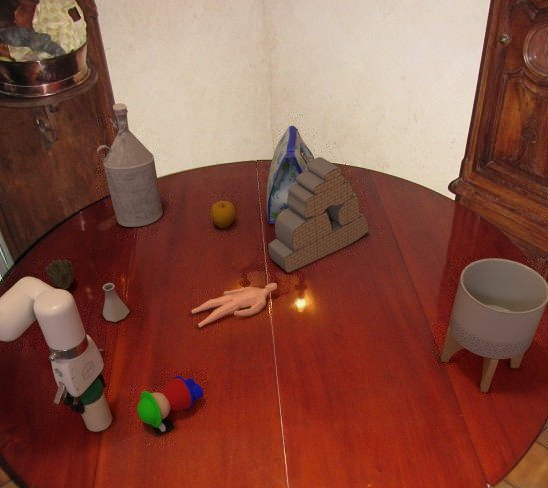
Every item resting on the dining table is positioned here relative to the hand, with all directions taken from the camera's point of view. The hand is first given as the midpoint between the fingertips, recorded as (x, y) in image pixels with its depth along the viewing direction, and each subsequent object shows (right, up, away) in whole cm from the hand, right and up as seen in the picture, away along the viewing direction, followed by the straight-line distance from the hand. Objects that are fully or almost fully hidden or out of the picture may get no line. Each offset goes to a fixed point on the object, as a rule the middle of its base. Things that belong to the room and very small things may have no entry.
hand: (89, 397), depth 125 cm
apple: (+25, +47, +65) cm, 84 cm away
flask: (-3, +18, +33) cm, 38 cm away
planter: (+93, +6, +16) cm, 95 cm away
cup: (-21, +26, +42) cm, 54 cm away
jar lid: (0, +2, -2) cm, 3 cm away
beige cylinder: (0, -6, +6) cm, 8 cm away
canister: (-6, +51, +70) cm, 86 cm away
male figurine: (+31, +20, +34) cm, 50 cm away
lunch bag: (+47, +54, +72) cm, 102 cm away
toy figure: (+17, -5, +7) cm, 19 cm away
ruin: (+55, +39, +54) cm, 87 cm away
